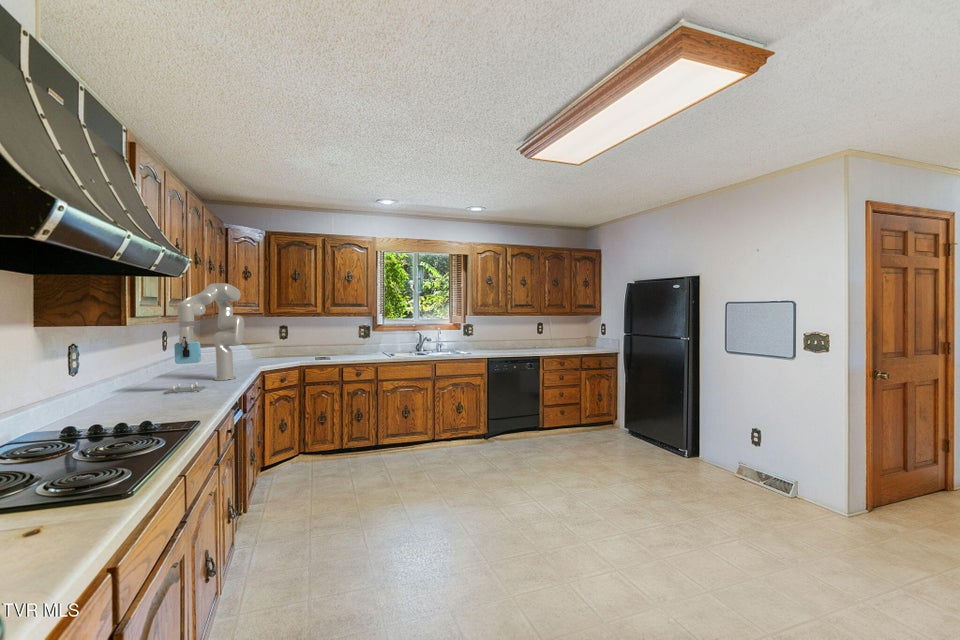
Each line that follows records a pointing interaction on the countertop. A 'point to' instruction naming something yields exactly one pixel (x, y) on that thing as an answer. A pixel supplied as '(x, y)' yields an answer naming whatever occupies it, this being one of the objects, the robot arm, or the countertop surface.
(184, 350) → the robot arm
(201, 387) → the pin tray
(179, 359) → the light blue rounded slab
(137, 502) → the countertop surface
